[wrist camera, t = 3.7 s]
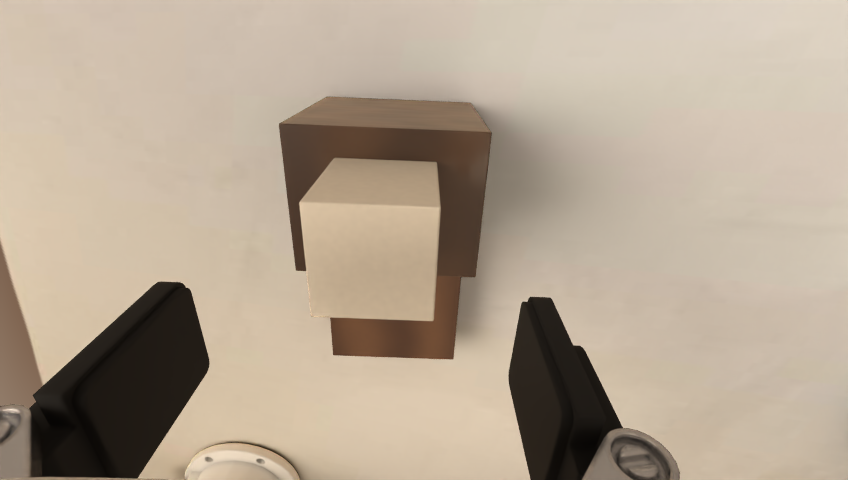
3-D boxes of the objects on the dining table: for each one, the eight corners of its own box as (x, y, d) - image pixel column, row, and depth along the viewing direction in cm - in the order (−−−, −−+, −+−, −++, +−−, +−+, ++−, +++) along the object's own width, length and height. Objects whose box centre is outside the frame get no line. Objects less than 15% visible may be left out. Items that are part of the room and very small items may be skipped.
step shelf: (341, 328, 37) (313, 421, 28) (326, 96, 28) (278, 123, 19) (451, 332, 37) (458, 426, 28) (471, 102, 28) (492, 132, 19)
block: (339, 248, 22) (310, 317, 16) (333, 157, 20) (298, 202, 14) (432, 252, 22) (433, 322, 16) (437, 161, 20) (441, 207, 14)
